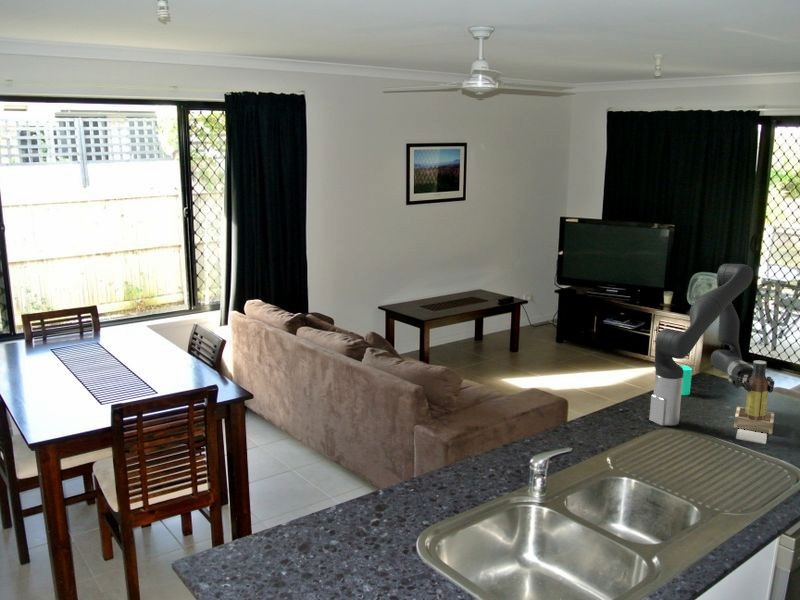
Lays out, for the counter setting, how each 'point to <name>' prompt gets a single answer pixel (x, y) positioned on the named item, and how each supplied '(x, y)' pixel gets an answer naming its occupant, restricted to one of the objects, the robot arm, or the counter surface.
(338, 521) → the counter surface
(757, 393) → the sauce bottle
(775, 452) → the counter surface
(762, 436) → the coaster mat
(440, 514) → the counter surface
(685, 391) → the turquoise rectangular block
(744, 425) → the wooden tray
